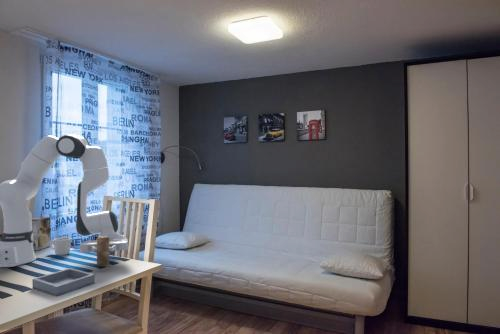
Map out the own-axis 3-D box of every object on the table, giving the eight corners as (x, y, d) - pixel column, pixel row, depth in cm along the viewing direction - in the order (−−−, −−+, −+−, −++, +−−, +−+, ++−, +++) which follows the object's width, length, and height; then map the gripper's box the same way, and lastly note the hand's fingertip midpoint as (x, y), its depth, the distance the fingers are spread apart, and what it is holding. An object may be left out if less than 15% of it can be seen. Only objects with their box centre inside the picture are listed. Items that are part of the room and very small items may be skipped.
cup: (44, 255, 174) (44, 239, 174) (55, 251, 182) (55, 236, 182) (64, 256, 173) (64, 240, 173) (74, 252, 181) (74, 237, 181)
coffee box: (41, 245, 194) (41, 216, 194) (51, 246, 193) (50, 217, 192) (27, 249, 185) (27, 219, 185) (37, 250, 184) (37, 220, 183)
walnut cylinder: (96, 266, 149) (96, 238, 149) (97, 263, 154) (97, 236, 154) (108, 265, 151) (109, 238, 150) (109, 262, 155) (110, 235, 155)
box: (56, 296, 125) (56, 286, 125) (32, 288, 132) (32, 278, 132) (94, 283, 138) (94, 274, 138) (70, 276, 146) (70, 267, 146)
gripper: (81, 236, 161) (76, 244, 148) (128, 234, 167) (127, 241, 154) (81, 250, 161) (76, 259, 148) (128, 247, 168) (127, 255, 154)
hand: (103, 250), depth 151 cm, fingers closed on walnut cylinder, 5 cm apart
